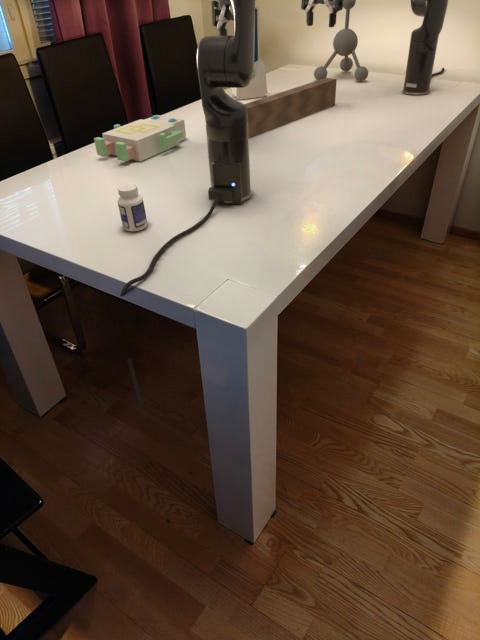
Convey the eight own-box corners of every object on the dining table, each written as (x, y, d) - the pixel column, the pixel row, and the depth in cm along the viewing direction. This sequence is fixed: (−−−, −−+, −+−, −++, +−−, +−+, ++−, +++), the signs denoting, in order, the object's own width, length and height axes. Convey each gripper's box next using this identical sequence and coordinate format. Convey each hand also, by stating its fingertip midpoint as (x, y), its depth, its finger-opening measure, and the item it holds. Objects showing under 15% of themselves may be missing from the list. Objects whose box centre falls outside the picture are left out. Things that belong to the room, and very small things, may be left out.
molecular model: (302, 76, 212) (304, -7, 193) (348, 70, 216) (355, -11, 198) (326, 87, 194) (331, -3, 175) (375, 81, 198) (385, -8, 180)
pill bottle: (149, 220, 107) (142, 181, 102) (146, 231, 103) (138, 191, 98) (125, 221, 107) (116, 182, 102) (121, 232, 103) (112, 193, 98)
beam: (226, 146, 144) (224, 116, 139) (216, 143, 146) (214, 113, 141) (334, 105, 173) (336, 79, 168) (324, 103, 176) (326, 77, 171)
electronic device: (236, 100, 185) (231, 6, 166) (231, 95, 191) (226, 5, 172) (267, 96, 187) (266, 3, 169) (261, 92, 193) (260, 2, 174)
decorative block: (146, 110, 155) (194, 118, 145) (149, 131, 159) (196, 140, 149) (83, 133, 139) (132, 144, 129) (88, 156, 143) (136, 168, 133)
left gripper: (261, -28, 122) (262, 45, 132) (222, -28, 130) (226, 41, 140) (240, -26, 118) (243, 50, 128) (201, -25, 126) (207, 45, 136)
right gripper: (350, -38, 143) (346, 26, 153) (312, -37, 151) (310, 23, 161) (335, -37, 139) (331, 29, 149) (296, -36, 147) (295, 26, 157)
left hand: (234, 45), depth 134 cm, fingers open, 8 cm apart
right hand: (320, 26), depth 155 cm, fingers open, 8 cm apart
